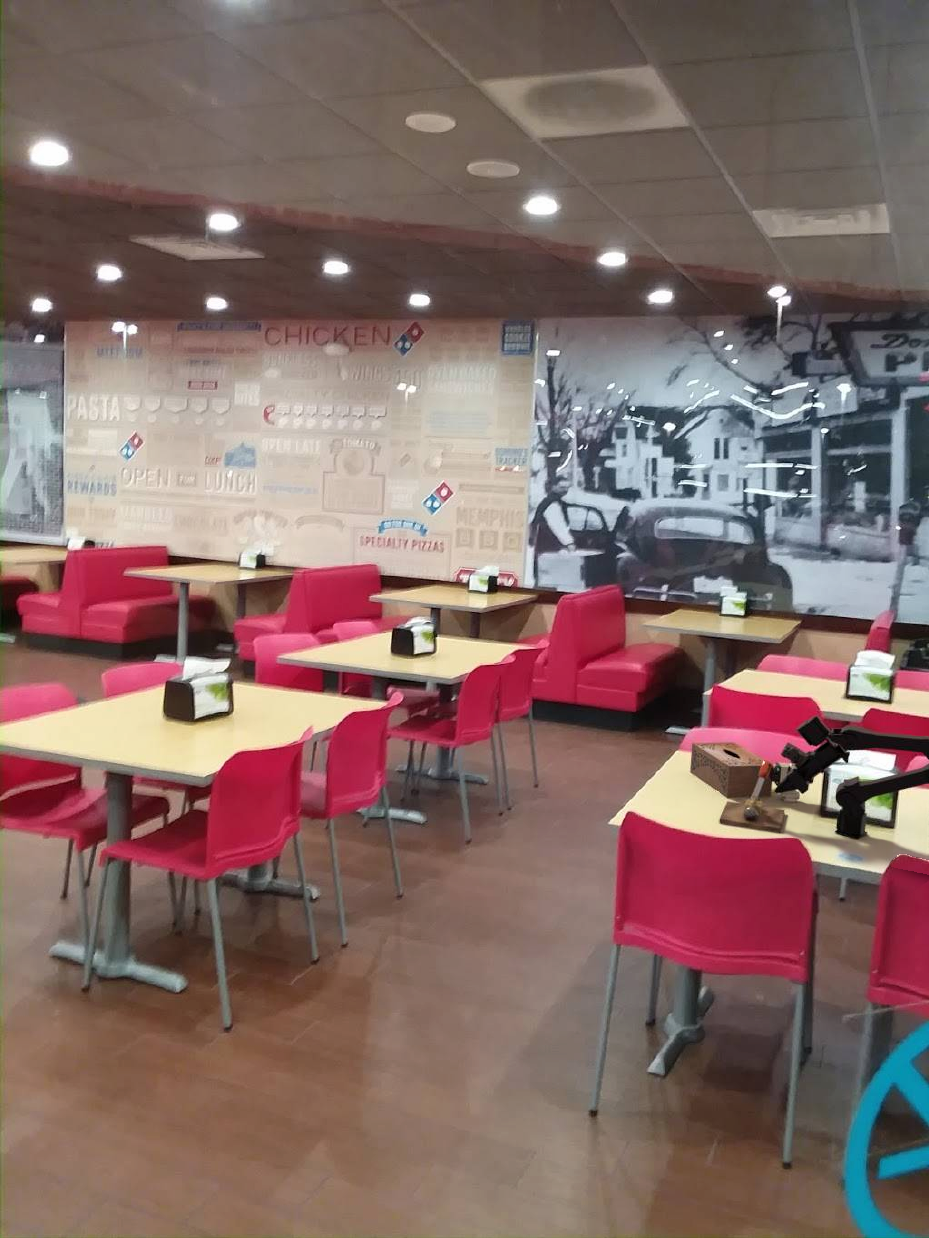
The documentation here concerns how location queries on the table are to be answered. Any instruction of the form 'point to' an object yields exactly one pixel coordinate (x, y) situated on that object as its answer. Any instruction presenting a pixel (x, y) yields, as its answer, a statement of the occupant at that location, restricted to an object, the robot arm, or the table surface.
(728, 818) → the mounting board
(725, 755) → the tissue box cover
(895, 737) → the robot arm
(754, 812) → the valve body
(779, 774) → the pneumatic valve
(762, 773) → the lever
